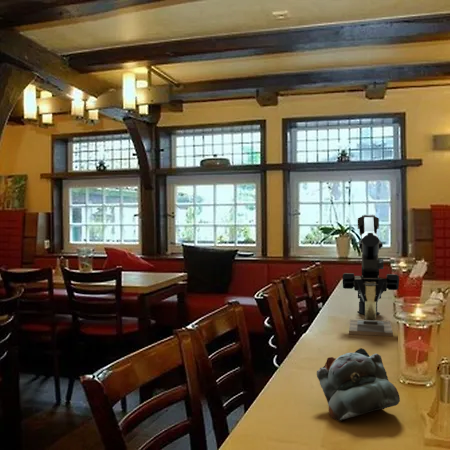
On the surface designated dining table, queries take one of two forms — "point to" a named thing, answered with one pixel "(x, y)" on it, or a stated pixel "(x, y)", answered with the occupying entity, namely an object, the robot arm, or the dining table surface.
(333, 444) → the dining table surface
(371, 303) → the tan cylinder
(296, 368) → the dining table surface
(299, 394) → the dining table surface
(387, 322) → the walnut eye plate
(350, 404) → the lucky cat figurine
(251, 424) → the dining table surface
